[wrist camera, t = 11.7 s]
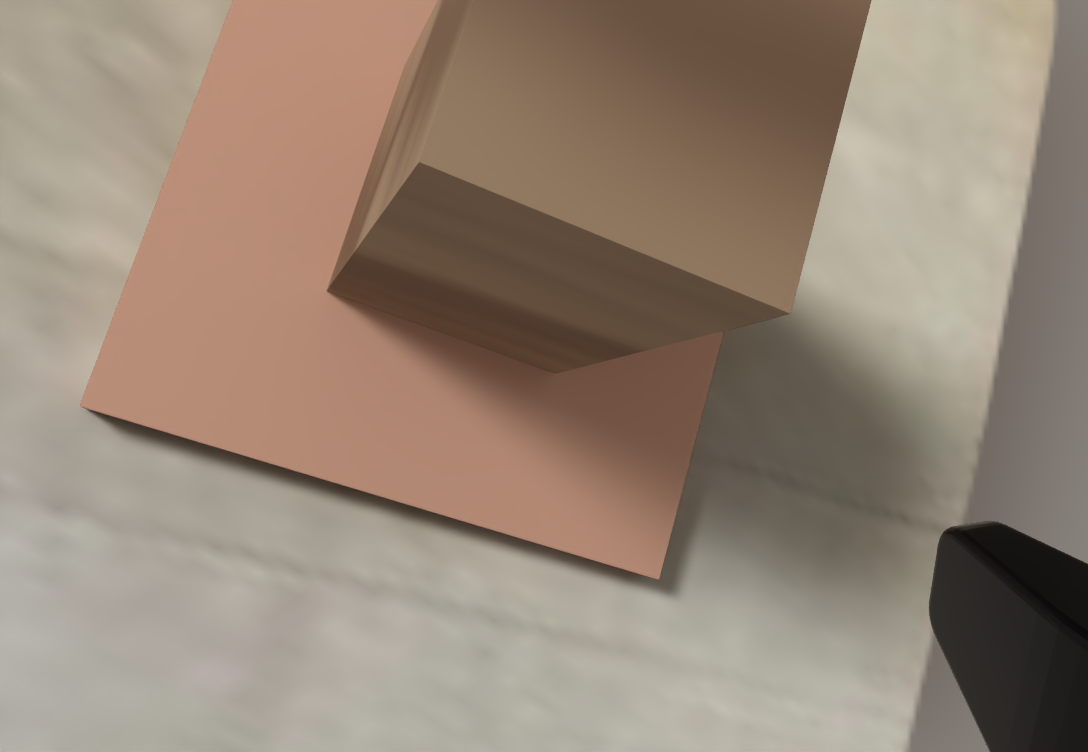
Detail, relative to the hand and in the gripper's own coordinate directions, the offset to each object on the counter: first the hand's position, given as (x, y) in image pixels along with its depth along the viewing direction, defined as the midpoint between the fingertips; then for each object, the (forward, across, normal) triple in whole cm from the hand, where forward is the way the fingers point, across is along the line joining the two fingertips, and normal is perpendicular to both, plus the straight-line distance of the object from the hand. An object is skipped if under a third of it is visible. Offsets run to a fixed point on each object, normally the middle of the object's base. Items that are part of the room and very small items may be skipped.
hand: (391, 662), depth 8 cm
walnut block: (+14, -2, +2) cm, 14 cm away
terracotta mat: (+15, -2, +2) cm, 15 cm away
